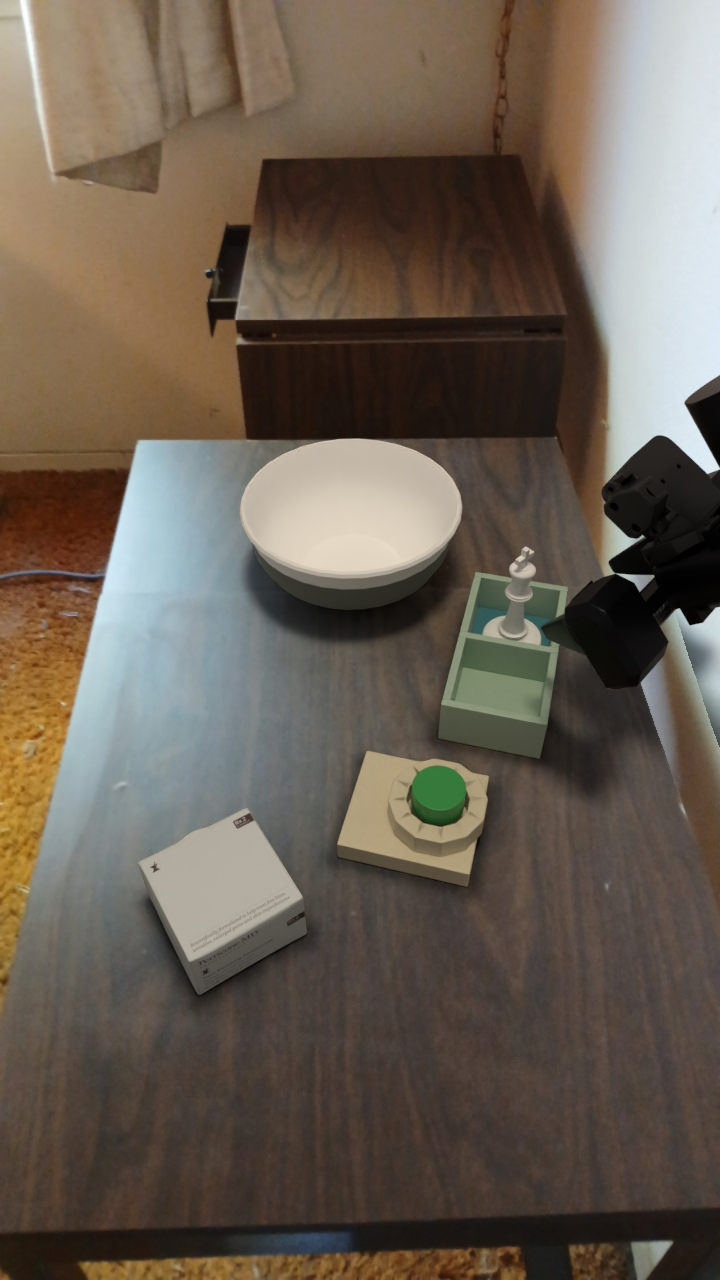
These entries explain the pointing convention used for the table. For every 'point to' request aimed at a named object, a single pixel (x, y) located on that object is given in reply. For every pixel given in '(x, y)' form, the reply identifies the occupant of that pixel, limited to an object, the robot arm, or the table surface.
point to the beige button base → (410, 822)
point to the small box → (224, 898)
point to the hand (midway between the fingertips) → (579, 598)
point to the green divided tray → (501, 672)
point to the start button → (438, 794)
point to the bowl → (351, 521)
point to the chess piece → (517, 604)
